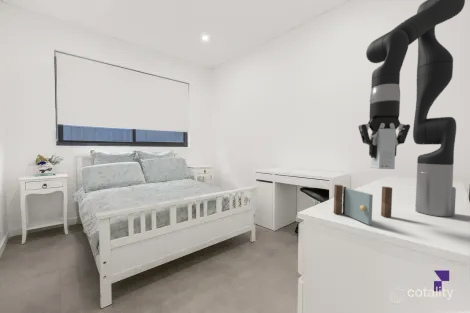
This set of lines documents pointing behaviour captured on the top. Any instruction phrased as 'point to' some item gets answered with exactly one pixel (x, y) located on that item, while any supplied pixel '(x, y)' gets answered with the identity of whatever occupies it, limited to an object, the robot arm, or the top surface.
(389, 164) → the skincare box
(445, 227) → the top surface
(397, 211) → the top surface
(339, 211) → the door frame
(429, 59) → the robot arm
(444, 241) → the top surface
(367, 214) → the door
